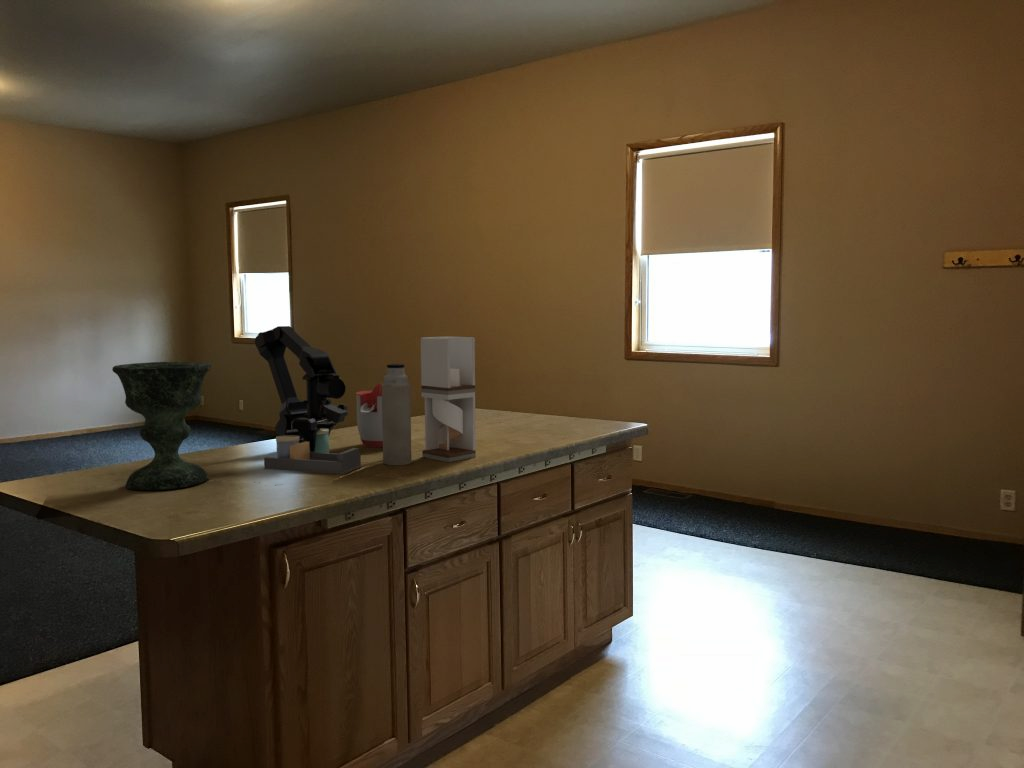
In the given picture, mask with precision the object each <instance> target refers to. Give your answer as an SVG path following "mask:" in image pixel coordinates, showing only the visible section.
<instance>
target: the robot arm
mask: <svg viewBox="0 0 1024 768" xmlns="http://www.w3.org/2000/svg"><path fill="white" fill-rule="evenodd" d="M254 345H255V346H256V349H257V352H258V354H259V355H260V356H261V357H262V358H263V359H264V360H265V361H266V362H267V363H268V366H269V370H270V373H271V375H272V379H273V382H274V385H275V388H276V391H277V393H278V398H279V400H280V404H281V406H280V409H279V412H278V415H279V419H278V421H277V423H276V424H275V426H274V430H275V433H276V435H277V436H282V435H298V436H300V440H299V443H302V442H305V441H307V442H309V446H310V451H311V452H314V451H315V441H316V433H317V432H318V431H319V430H320V428H328V429H329V433H328V434H329V435H330V434H331V431H332V429H333V428H335V426H337V425H338V424H339V423H343V422H345V417H347V416H348V415H349V413H348V405H347V404H345V403H341V404H338V405H333V404H332V401H331V399H336V400H337V399H341V398H342V397H343V396H344V395H345V392H346V389H347V388H346V383H345V382H344V381H343V380H342V379H340V374H337V372H336V368H335V366H334V365H333V363H332V360H331V358H330V356H329V354H328V353H327V352H326V351H323V350H322V349H320V348H316V347H313V346H311V345H310V344H309V343H308V342H307V341H306V340H305V339H303V338H302V336H301V335H299V334H298V333H297V332H296V331H295V329H294V327H292V326H290V325H288V326H287V325H285V326H284V325H283V326H282V325H281V326H276V327H274V328H272V329H269V330H266V331H263V332H259V333H258V334H257V335H256V337H255V338H254ZM287 349H288V350H289V351H291V352H292V353H293V355H294V356H296V357H297V359H298V360H299V361H298V364H299V366H300V367H301V368H302V370H303V371H304V373H305V374H304V375H303V376H302V381H305V384H306V385H305V388H306V389H305V390H306V392H305V393H306V399H304V400H301V399H299V397H298V395H297V392H296V389H295V387H294V386H295V385H294V383H293V380H292V377H291V374H290V371H289V368H288V364H287V362H286V359H285V353H286V351H287Z"/></svg>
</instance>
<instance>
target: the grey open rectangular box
mask: <svg viewBox="0 0 1024 768" xmlns="http://www.w3.org/2000/svg"><path fill="white" fill-rule="evenodd" d="M361 456H362V455H361V454H360V449H359V447H353V448H350V449H347V450H343V451H341V452H339V453H335V452H334V453H333V452H329V453H319V452H310V460H307V459H290V458H277V457H270V456H265V457H263V466H264V467H263V468H264V470H275V471H277V470H278V471H290V472H293V471H294V472H307V473H322V474H323V473H324V474H339V475H340V476H342V475H344V476H346V475H345V474H347V473H349V474H351V473H353V472H352V471H354V472H356V471H358V470H357V469H359V470H360V468H361V466H362V462H361V461H362V459H361V458H362V457H361ZM355 470H356V471H355ZM350 472H351V473H350ZM347 475H348V474H347ZM342 477H343V476H342Z"/></svg>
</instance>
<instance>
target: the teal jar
mask: <svg viewBox="0 0 1024 768" xmlns="http://www.w3.org/2000/svg"><path fill="white" fill-rule="evenodd" d="M328 433H329V429H328V428H320V430H319V431H318V432H317V433H316V441H315V451H314V452H319V453H330V444H329V443H330V441H329V439H330V438H329V437H330V434H328ZM310 452H311V451H310Z"/></svg>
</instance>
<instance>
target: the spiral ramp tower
mask: <svg viewBox="0 0 1024 768" xmlns="http://www.w3.org/2000/svg"><path fill="white" fill-rule="evenodd" d="M475 340H476V339H475V337H472V336H471V337H468V336H467V337H466V336H433V337H431V336H430V337H429V336H428V337H420V370H421V371H420V373H421V374H420V375H421V377H420V378H421V383H420V384H421V387H420V388H421V398H424V434H425V435H424V436H425V437H424V443H425V444H424V446H425V447H424V448H425V449H423V450H422V451H421V452H422V453H421V454H422V455H421V456H422V458H424V457H425V459H429V460H430V459H431V460H436V461H441V462H446V463H451V462H458V461H462V460H467V459H472V458H476V456H477V454H476V452H477V451H476V445H477V443H476V442H477V441H476V347H475V346H476V341H475Z"/></svg>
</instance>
